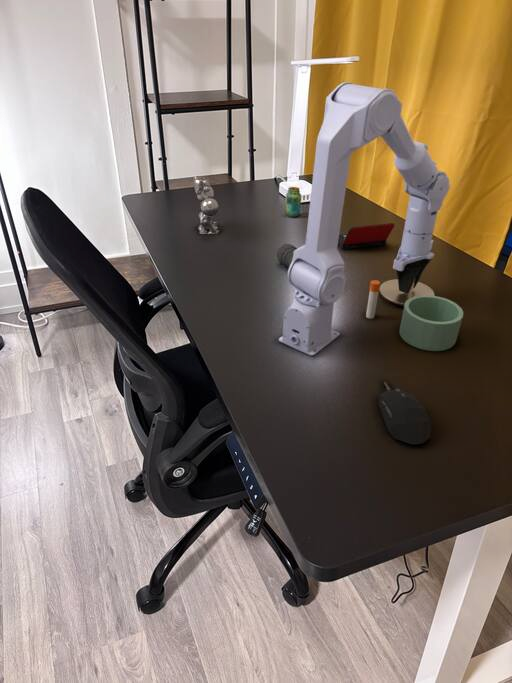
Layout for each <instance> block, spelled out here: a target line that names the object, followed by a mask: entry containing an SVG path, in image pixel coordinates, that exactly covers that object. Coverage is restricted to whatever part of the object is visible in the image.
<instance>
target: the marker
mask: <svg viewBox="0 0 512 683" xmlns="http://www.w3.org/2000/svg"><path fill="white" fill-rule="evenodd" d="M380 286H381V282H380V281H379V280H377V279H372V280H370V284H369V293H368V300H367V306H366V314H365V318H367V319H369V320H372V319H375V317H376V316H375V315H376V311H377V310H376V309H377V302H378V298H379V297H378V296H379V289H380Z"/></svg>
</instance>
